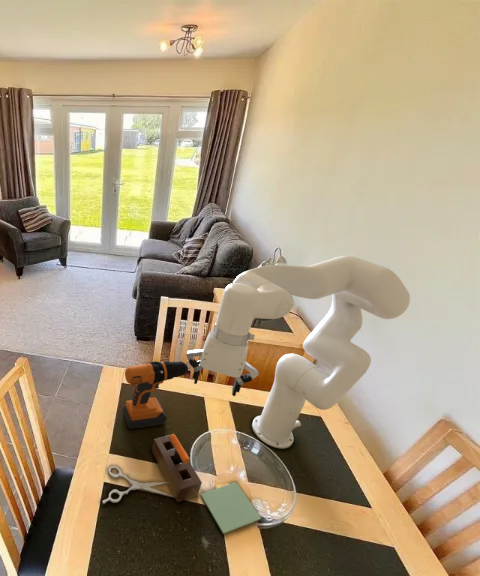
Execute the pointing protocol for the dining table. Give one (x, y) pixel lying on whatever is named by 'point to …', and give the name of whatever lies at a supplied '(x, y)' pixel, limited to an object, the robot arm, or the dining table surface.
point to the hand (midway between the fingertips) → (214, 386)
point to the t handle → (178, 451)
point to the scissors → (135, 486)
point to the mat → (230, 507)
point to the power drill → (149, 391)
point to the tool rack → (176, 470)
